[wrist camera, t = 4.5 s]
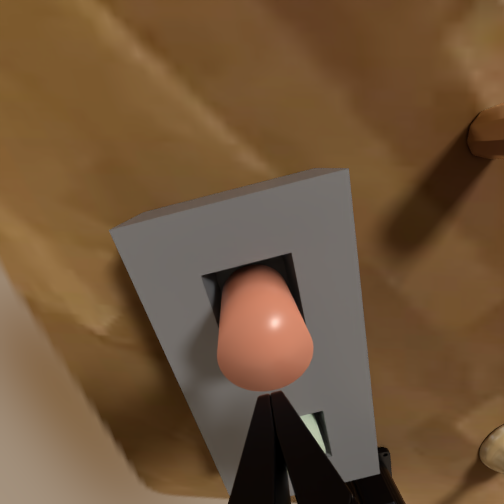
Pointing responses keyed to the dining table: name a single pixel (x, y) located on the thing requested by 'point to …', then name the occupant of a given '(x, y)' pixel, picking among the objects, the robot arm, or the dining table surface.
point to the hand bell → (494, 450)
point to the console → (301, 288)
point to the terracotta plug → (261, 331)
